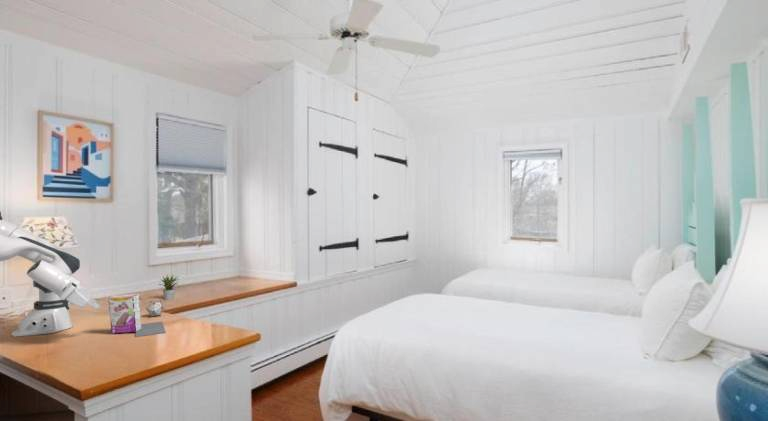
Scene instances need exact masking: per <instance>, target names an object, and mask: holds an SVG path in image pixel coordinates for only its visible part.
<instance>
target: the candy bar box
mask: <svg viewBox="0 0 768 421" xmlns="http://www.w3.org/2000/svg"><path fill="white" fill-rule="evenodd" d="M108 306H109V318H110V330H111V334H112V335H115V334H126V333H127V334H128V333H136V332H137V331H139V330H141V324H142V320H141V319H142V318H141V317H142V316H141V308H140V307H141V306H140V294H137V293H136V294H135V293H134V294H123V295H121V294H120V295H113V296H111V297H108Z"/></svg>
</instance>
